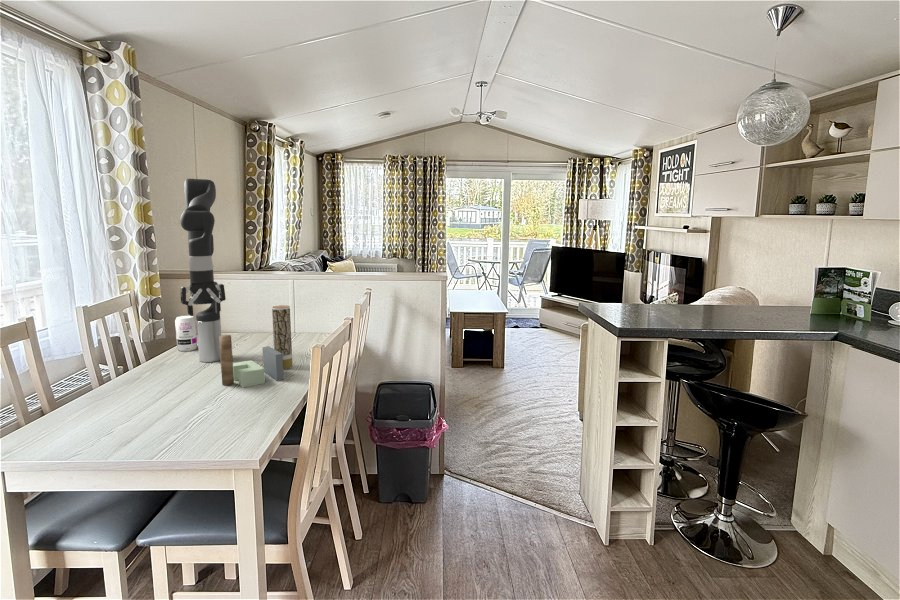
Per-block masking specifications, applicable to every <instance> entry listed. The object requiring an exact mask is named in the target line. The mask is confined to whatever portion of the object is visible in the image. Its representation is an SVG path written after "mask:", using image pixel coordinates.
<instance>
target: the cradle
mask: <svg viewBox="0 0 900 600" xmlns="http://www.w3.org/2000/svg"><path fill="white" fill-rule="evenodd" d="M233 374H234V382H235V381H238V385H239V386H240V387H242V388H247V387H252V386H257V385H262V384H266V379H265V376H266V375H265V372H264V367H262V366H261V365H259V364H258V363H256V362H254V361H253V360H252V359H251V360H245V361H239V362H233Z"/></svg>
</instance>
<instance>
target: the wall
mask: <svg viewBox="0 0 900 600" xmlns="http://www.w3.org/2000/svg"><path fill="white" fill-rule="evenodd" d="M262 361H263V362H262V363H263V367H262V368H264V374H266V375H268V376H269V377H270V378H272V379H273V380H275V381H282V380H283V381H284V369H283V359H282V353H280V352H278V351H276V350H275V349H274V347H271V346H269V345H268V346H263V347H262Z"/></svg>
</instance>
